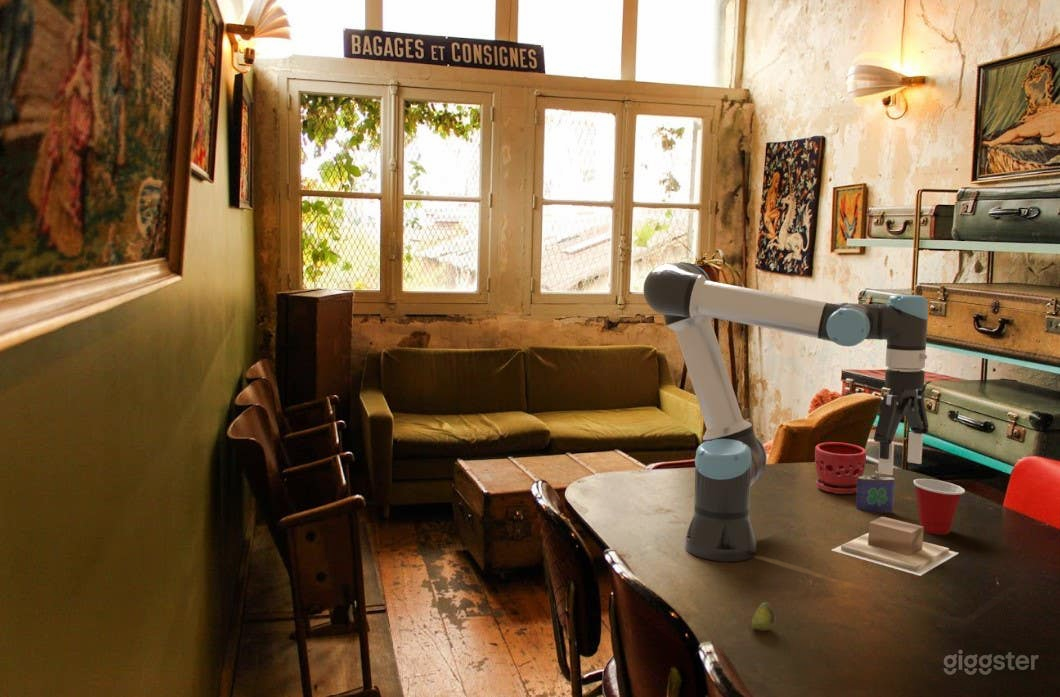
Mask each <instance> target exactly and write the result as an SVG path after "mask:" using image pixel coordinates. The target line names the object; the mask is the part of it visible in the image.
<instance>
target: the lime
mask: <svg viewBox="0 0 1060 697" xmlns="http://www.w3.org/2000/svg"><path fill="white" fill-rule="evenodd" d="M776 622H777V612H776V609H775V608H774V606H773V605H772V604H771V603H769V602H768V601H764V602H762V603H761V604H760V605H759V606H758V608H757V609H756V610H755V612H754V613H753V615H752V616H751V619H750V624H749V626H750V627H751V629H754V630H756V631H759V632H767V631H769V630H771V629H772V628H773V627H774V626H775V624H776Z"/></svg>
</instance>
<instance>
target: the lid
mask: <svg viewBox="0 0 1060 697" xmlns="http://www.w3.org/2000/svg"><path fill="white" fill-rule="evenodd" d="M923 529H924V527H923V526H920V524H919V525H918V524H914V523H910V522H906V521H902V520H898V519H894V518H890V517H886V516H879V517H878V518H876V519H873V520H871V521H870V522H868V532H867V533H868V534H867V533H865V534H866V535H865V534H862V535H863V536H862V535H860V536H861V537H860V536H858V537H859V538H858V537H856V538H857V539H856V538H854V539H855V540H854V539H852V540H853V541H852V540H850V541H851V542H849V541H848V543H847V542H845V543H846V544H845V543H843V544H844V545H843V544H841V545H842V546H841V545H840V546H841V550H842V551H845V552H849V553H852V554H856V555H859V556H863V557H866V558H870V559H873V560H877V561H880V562H884V563H887V564H891V565H894V566H898V567H901V568H905V569H908V570H912V571H915V572H916V571H918V570H920V569H921V568H923V567H925V566H927V565H928V564H930V563H932V562H934V561H935V560H937V559H939V558H941V557H942V556H944V555H946V554H947V553H949V551H950V548H949V547H946V546H941V545H938V544H934V543H930V542H926V541H924V531H923Z"/></svg>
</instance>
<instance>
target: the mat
mask: <svg viewBox="0 0 1060 697" xmlns="http://www.w3.org/2000/svg"><path fill="white" fill-rule="evenodd" d="M868 533H869V532H867V533H865V534H862V535H860V536H858V537H856V538H854V539H851V540H850V541H848V542H851V541H853V540H855V539H857V538H859V537H861V536H863V535H866V534H868ZM848 542H845V543H843V544H841V545H839V546H837V547H835V548H832V549H831V551H832V552H836V553H839V554H843V555H847V556H849V557H852V558H857V559H861V560H863V561H868V562H870V563H874V564H877V565H881V566H885V567H888V568H891V569H895V570H899V571H902V572H906V573H909V574H912V575H916V576H923V575H924V574H926V573H928V572H929V571H931V570H933V569H934V568H936V567H938V566H940V565H941V564H943V563H945V562H947V561H948V560H950V559H952V558H953V557H955V556H957V555H958V554H959V552H957V551H953V550H949V553H947V554H946V555H944V556H942V557H941V558H939V559H937V560H935V561H934V562H932V563H930V564H928V565H927V566H925V567H923V568H921V569H920V570H918V571H916V572H915V571H912V570H908V569H905V568H901V567H898V566H894V565H891V564H887V563H884V562H880V561H877V560H873V559H870V558H866V557H863V556H859V555H856V554H852V553H849V552H845V551H842V550H841V546H842V545H844V544H846V543H848Z"/></svg>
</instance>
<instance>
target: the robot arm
mask: <svg viewBox="0 0 1060 697" xmlns="http://www.w3.org/2000/svg"><path fill="white" fill-rule="evenodd" d="M643 296H644V299H645V303H647V305H648V306H649V307H650V309H652V310H653V311H654V312H656V313H657V314H661V315H662V316H663V319H664V323H665V326H666V328H669V329H670V330H672V331H674V332H675V335H676V338H677V341H678V345H679V347H680V351H681V353H682V358H683V360H684V363H685V366H686V370H687V372H688V377H689V378H690V381H691V385H692V388H693V391H694V394H695V397H696V400H697V404H698V407H699V409H700V414H701V416H702V419H703V422H704V424H705V428H706V431H705V432H704V434H703V435H702V439H703V442H702V443H701V444H699V445H698V447H697V448H696V452H695V458H694V465H695V466H694V468H695V471H694V472H695V473H694V474H695V475H694V476H695V477H694V481H695V482H694V510H693V511H694V513H693V516H692V519H691V522H690V524H689V527H688V529H687V532H686V535H685V546H684V548H685V549H686V551H687V552H689V553H690V554H691V555H693V556H695V557H698V558H702V559H705V560H710V561H716V562H731V563H732V562H740V561H741V562H742V561H746V560H749V559H751V558H754V557H755V556H756V554H757V552H756V551H757V540H756V538H755V534H754V530H753V527H752V524H751V520H750V498H751V496H750V495H751V494H750V493H751V492H750V491H751V487H752V486H753V485H754V484H755V483H756V482H757V481H758V480H759V479H760V478H761V477H762V475H763V474H764V472H765V468H766V465H767V457H768V456H767V451H766V448H765V446H764V444H763V443H762V442H761V440H760V439H759V438H758V437H757V436H756V434H755V430H754V427H753V424H752V423H751V422H749V421H748V420H745V419H744V418H743V416H742V412H741V409H740V406H739V402H738V400H737V399H738V398H737V396H736V393H735V391H734V387H733V384H732V381H731V377H730V375H729V372H728V368H727V366H726V363H725V362H726V361H725V360H724V357H723V354H722V351H721V348H720V345H719V341H718V338H717V336H716V332H715V328H714V326H713V323H712V318H713V319H718V320H724V321H729V322H733V323H738V324H743V325H749V326H752V327H758V328H763V329H764V328H765V329H769V330H774V331H778V332H785V333H789V334H794V335H799V336H804V337H809V338H814V339H820V340H823V341H826V342H827V341H829V342H833V343H834V344H836V345H837V346H838V345H839V346H841V347H854V346H858V345H859V344H860V343H862V342H864V341H865V340H879V341H881V340H885V341H886V348H885V349H886V350H885V351H886V352H885V366H886V367H887V368H886V370H885V375H884V385H885V387H887V388H890V389H891V394H883V396H882V404H881V410H880V414H879V416H878V421H877V424H876V427H875V433H874V435H873V436H874V437H873V440H874V442H875V443H879V444H878V445H879V448H878V449H879V450H878V465H877V466H878V468H877V470H878V473H881V475H888V476H893V474H894V472H893V471H894V454H895V453H894V452H895V443H893V440H894V438H895V435H896V433H897V430H898V427H899V426H900V422H901V420H902V418H904V417H905V418H906V421H907V423H908V426H909V428H910V432H908V440H907V441H908V444H907V463H910V464H911V463H912V464H918V465H922V460H923V459H922V458H923V457H922V456H923V441H924V434H925V435H928V434H929V429H928V428H929V422H928V417H927V416H928V415H927V410H926V405H925V399H924V398H925V397H924V392H925V391H924V389H923V388H924V387H925V375H926V374H925V373H926V372H924V370H922V369H925V367H926V360H927V359H928V355H927V354H926V352H927V350H926V349H927V335H928V333H927V332H928V320H929V316H928V314H929V313H928V312H929V311H928V309H929V308H928V304H929V303H928V302H929V301H928V299H927V298H926V297H925V296H923V295H914V294H893V295H890V296H889V297H888V301H887V303H884V304H881V303H880V304H874V303H873V304H872V303H871V304H870V303H848V302H842V303H841V302H840V303H830V302H826V301H825V302H824V301H820V300H814V299H809V298H803V297H800V296H799V297H798V296H793V295H787V294H781V293H776V292H770V291H766V290H765V291H764V290H761V289H755V288H749V287H745V286H744V287H743V286H738V285H733V284H728V283H722V282H716V281H712V280H711V279H710V277H709V275H708V274H707V272H706V271H705V270H704V269H703V268H701V267H700V266H698V265H696V264H693V263H691V262H685V261H683V262H682V261H681V262H677V263H675V262H674V263H663V264H660V265H658V266H656V267H654V268H653V269H652V270H651V271H650V272H649V273H648V275H646V278H645V280H644V282H643Z"/></svg>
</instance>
